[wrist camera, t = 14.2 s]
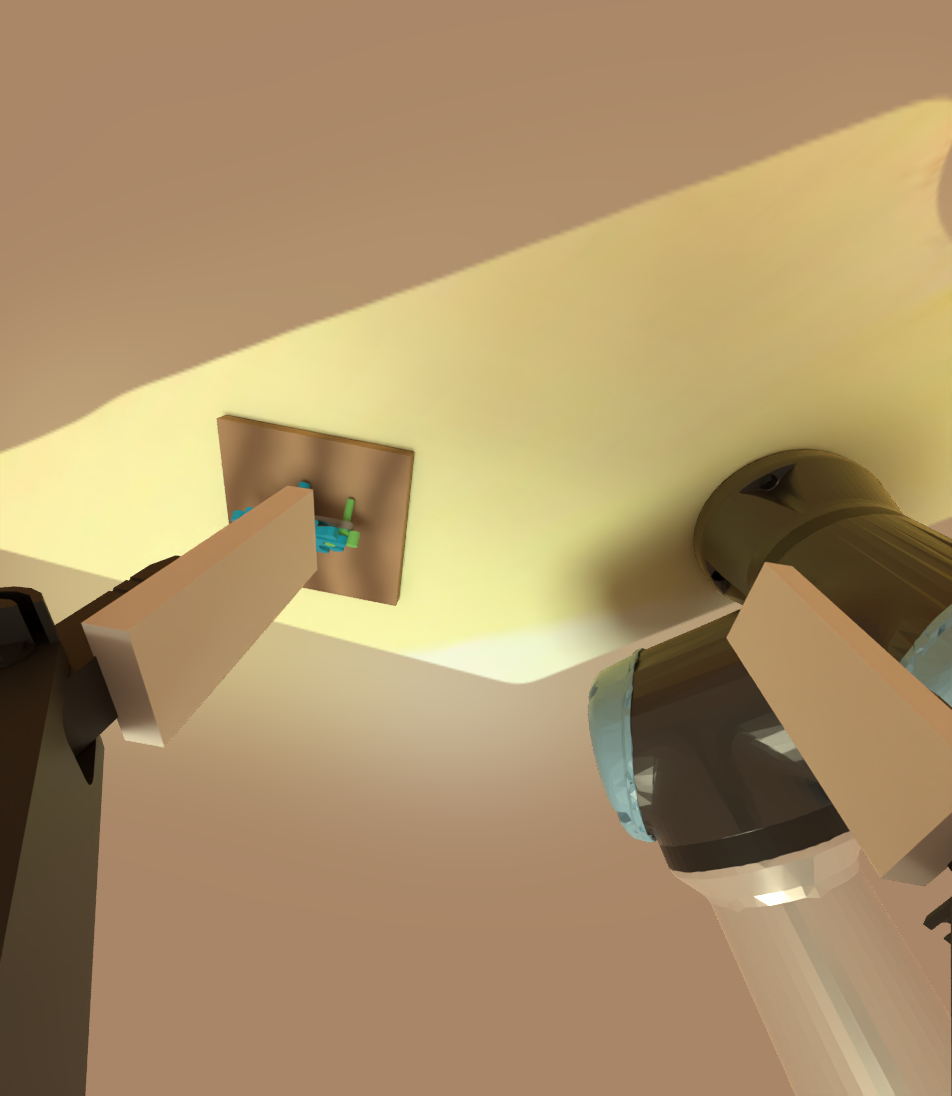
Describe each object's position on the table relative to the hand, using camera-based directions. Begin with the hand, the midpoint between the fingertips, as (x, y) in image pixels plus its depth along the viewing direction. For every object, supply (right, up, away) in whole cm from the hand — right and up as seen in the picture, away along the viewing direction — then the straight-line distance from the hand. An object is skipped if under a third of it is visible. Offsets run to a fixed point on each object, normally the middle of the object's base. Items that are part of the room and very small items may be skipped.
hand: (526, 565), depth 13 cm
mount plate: (-18, +4, +32) cm, 37 cm away
